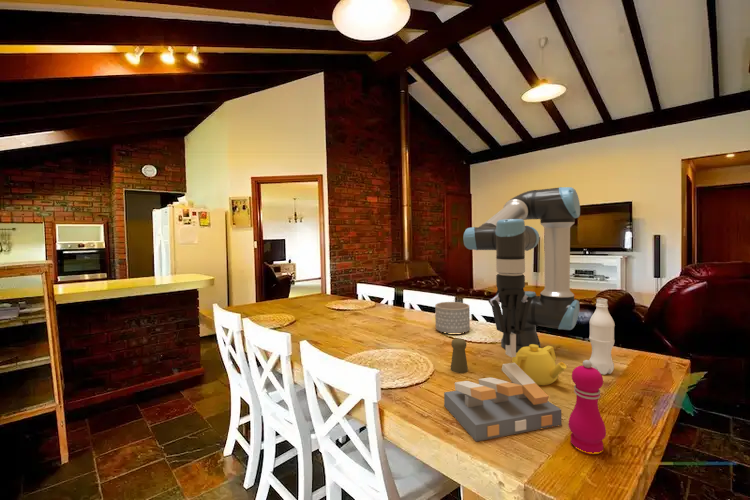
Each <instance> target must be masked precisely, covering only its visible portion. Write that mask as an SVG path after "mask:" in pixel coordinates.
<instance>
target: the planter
mask: <svg viewBox="0 0 750 500" xmlns="http://www.w3.org/2000/svg"><path fill="white" fill-rule="evenodd" d="M434 308H435V309H434V312H435V317H434V318H435V330H437V331H439V332H440V333H442V332H446V333H463V332H465V333H467V332H469V331H470V330H471V327H470V326H471V322H470V321H471V320H470V316H471V315H470V314H471V313H470V304H468V303H465V302H460V301H442V302H438V303H436V304H435V306H434ZM442 334H443V333H442ZM463 334H464V333H463Z"/></svg>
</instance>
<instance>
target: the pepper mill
mask: <svg viewBox="0 0 750 500" xmlns="http://www.w3.org/2000/svg"><path fill="white" fill-rule="evenodd" d="M591 366H592V363H591V362H590V361H589V359H584V360H583V361H582V365H579V366H576V367H575V368H574V369H573V370H572V373H571V380H572V382H573V384H574V386H573V393H574V395H576V400H575V401H576V402H575V404H574V405H575V406H574V408H573V410H572V411H571V413H570V415H569V418H568V428H569V430H570V431H571V433H570V443H572V444H573V445H574V446H575V447H577V448H579V449H581V450H583V451H586V452H592V453H594V452H600V451H602V450H603V451H604V442H603V440H604V439H605V437H606V435H607V432H606V431H607V430H606V429H607V428H606V425H605V422H604V420H603V418H602V415H601V413H600V410H599V403H598V402H599V399H600V398H601V390H600V389H601V388H602V386H603V384H604V377H603V374H601V373H600V372H599V371H598V370H597V369H595V368H593V367H591ZM572 444H571V445H572Z"/></svg>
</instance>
